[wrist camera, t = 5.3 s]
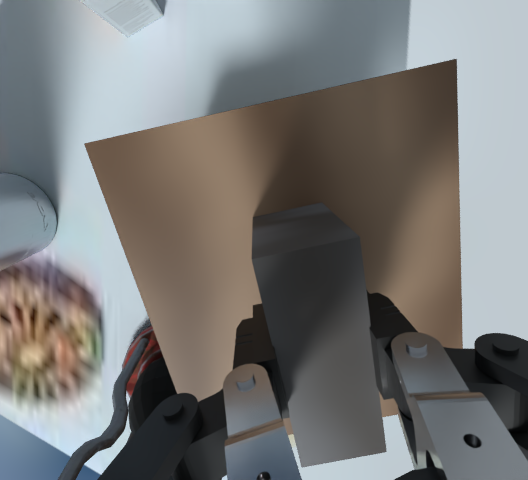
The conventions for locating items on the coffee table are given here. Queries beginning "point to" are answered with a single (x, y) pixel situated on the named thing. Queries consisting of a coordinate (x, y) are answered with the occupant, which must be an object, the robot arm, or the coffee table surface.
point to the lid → (297, 239)
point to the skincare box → (126, 13)
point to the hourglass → (141, 397)
